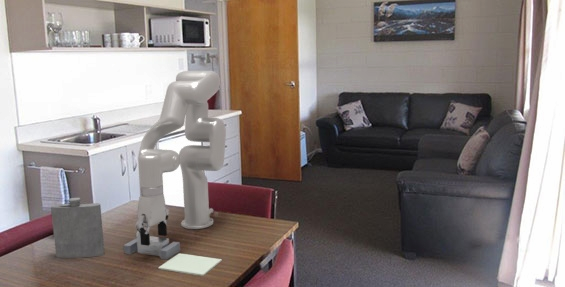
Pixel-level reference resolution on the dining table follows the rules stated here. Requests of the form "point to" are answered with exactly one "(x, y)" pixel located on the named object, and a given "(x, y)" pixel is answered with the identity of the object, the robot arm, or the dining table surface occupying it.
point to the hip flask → (77, 229)
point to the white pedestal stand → (152, 245)
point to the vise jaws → (164, 253)
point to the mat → (190, 264)
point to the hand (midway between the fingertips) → (154, 240)
